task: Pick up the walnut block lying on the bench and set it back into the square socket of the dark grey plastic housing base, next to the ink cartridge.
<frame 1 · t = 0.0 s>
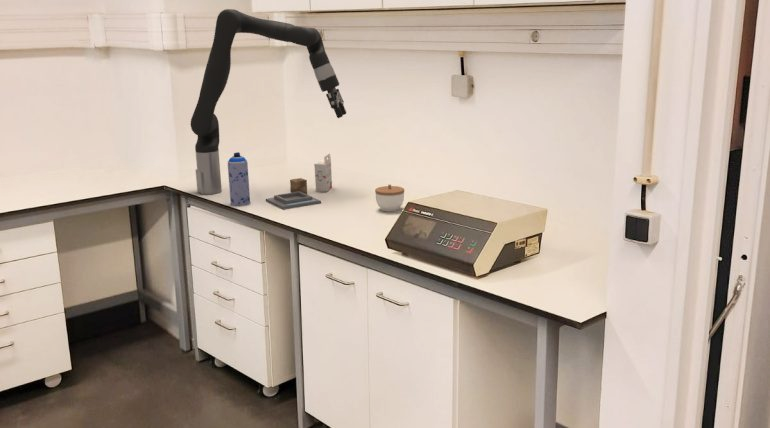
hand: (342, 116, 282), 31 cm above the table, tool tilted 20°, fingers open, 8 cm apart
aerosol can: (240, 204, 277), on the table
lidded jar: (390, 210, 264), on the table
block: (299, 194, 291), on the table
holder: (293, 202, 278), on the table
ink cartridge box: (323, 190, 298), on the table
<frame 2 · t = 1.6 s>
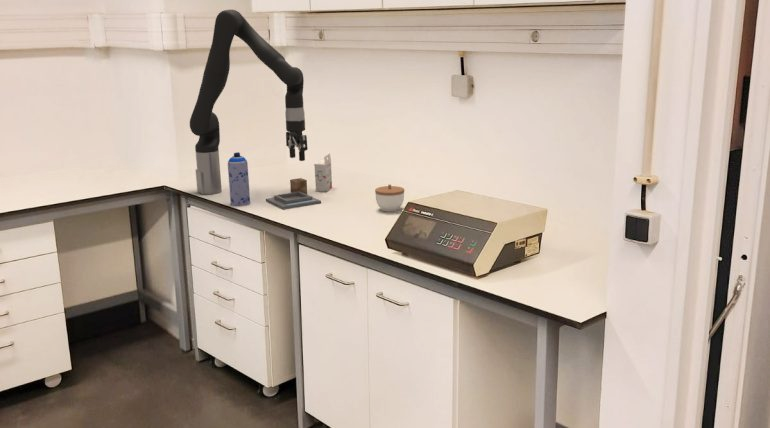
hand: (297, 159, 287), 14 cm above the table, tool pointing down, fingers open, 8 cm apart
nothing on the table moved.
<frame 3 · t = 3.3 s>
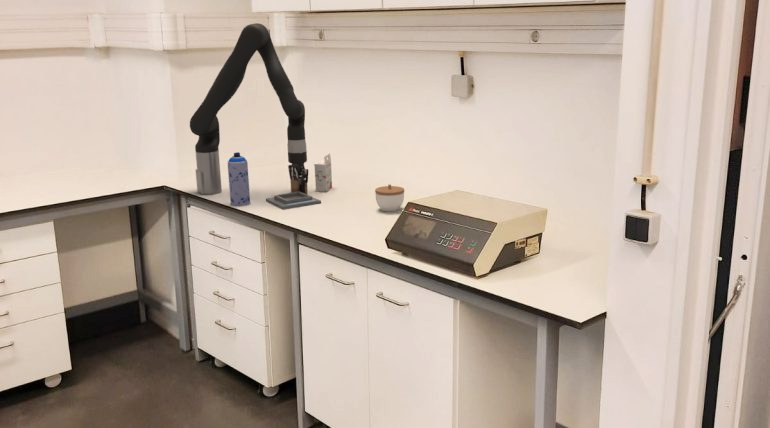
hand: (299, 191, 290), 1 cm above the table, tool pointing down, fingers closed on block, 5 cm apart
block: (299, 194, 290), on the table, touching gripper
everything else where it was.
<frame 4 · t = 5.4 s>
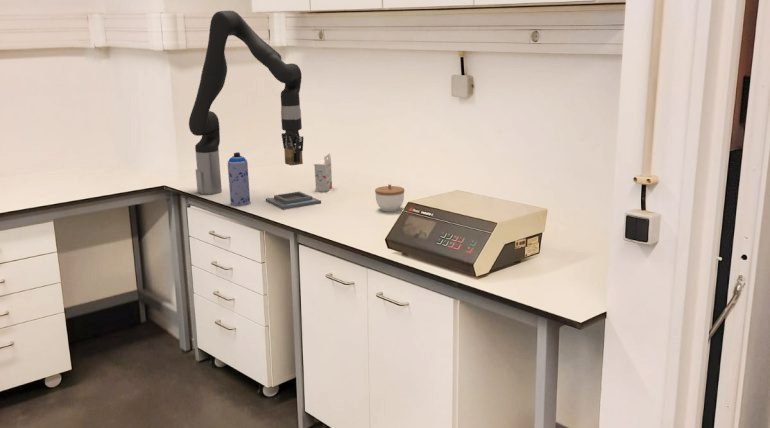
hand: (293, 161, 276), 16 cm above the table, tool pointing down, fingers closed on block, 5 cm apart
block: (293, 163, 276), point 15 cm above the table, touching gripper
everything else where it was.
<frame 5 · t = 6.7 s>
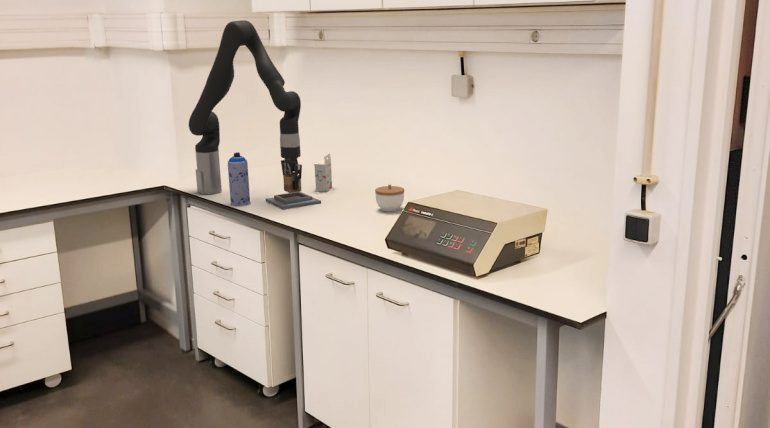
hand: (292, 188, 276), 6 cm above the table, tool pointing down, fingers closed on block, 5 cm apart
block: (292, 190, 276), point 5 cm above the table, touching gripper
everything else where it was.
when the fingers open (3 cm above the table, at t = 7.4 s): block drops 1 cm, resting on holder.
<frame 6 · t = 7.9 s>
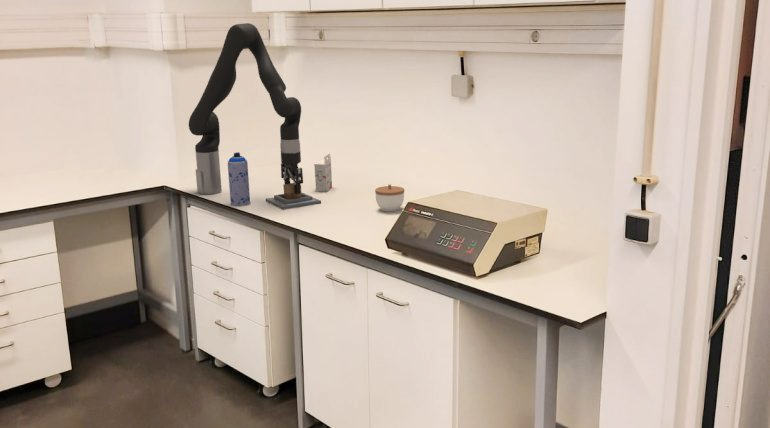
hand: (292, 191, 277), 4 cm above the table, tool pointing down, fingers open, 8 cm apart
block: (293, 199, 277), point 1 cm above the table, touching holder
everything else where it was.
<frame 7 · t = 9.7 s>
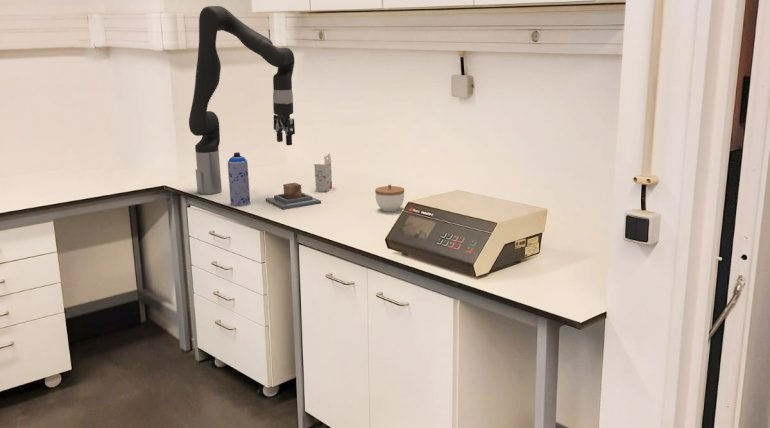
hand: (284, 143, 277), 22 cm above the table, tool pointing down, fingers open, 8 cm apart
nothing on the table moved.
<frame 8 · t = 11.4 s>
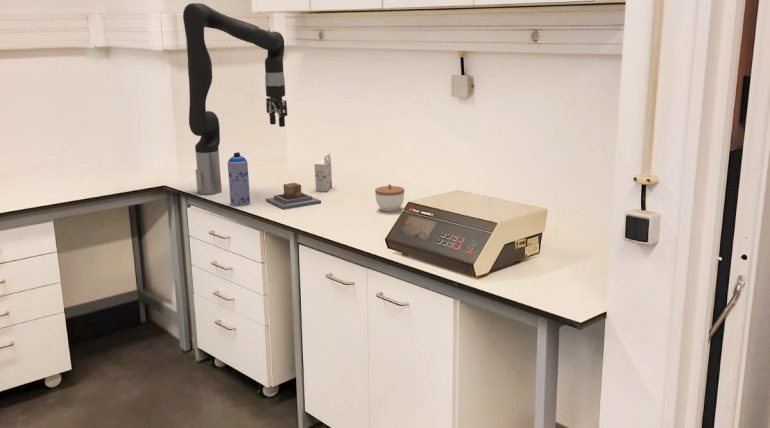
hand: (277, 125, 284), 28 cm above the table, tool pointing down, fingers open, 8 cm apart
nothing on the table moved.
at the end: block inside the target area on the holder (0.1 cm from its centre), point 1.0 cm above the holder's base; block tilted 0°; the gripper is holding nothing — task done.
